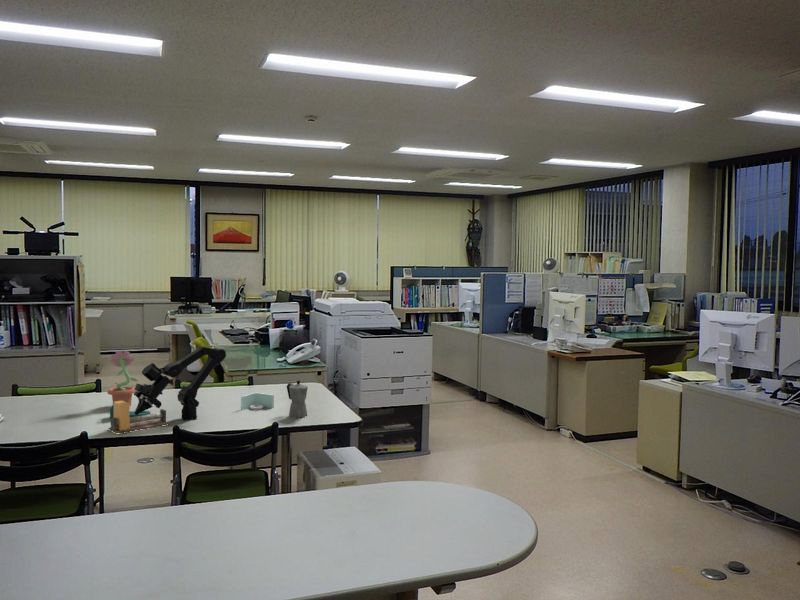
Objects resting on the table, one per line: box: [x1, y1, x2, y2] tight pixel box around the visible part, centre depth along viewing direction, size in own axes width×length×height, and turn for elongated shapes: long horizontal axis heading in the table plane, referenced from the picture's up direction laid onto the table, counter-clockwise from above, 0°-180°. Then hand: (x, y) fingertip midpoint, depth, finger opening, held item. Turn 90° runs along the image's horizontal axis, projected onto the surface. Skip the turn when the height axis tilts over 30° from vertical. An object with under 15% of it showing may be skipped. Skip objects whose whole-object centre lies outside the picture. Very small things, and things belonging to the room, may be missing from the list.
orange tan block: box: [112, 401, 130, 431], centre depth 286 cm, size 4×8×12 cm, turn 45°
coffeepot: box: [286, 380, 308, 419], centre depth 319 cm, size 15×9×18 cm, turn 49°
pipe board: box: [107, 408, 170, 434], centre depth 292 cm, size 24×10×6 cm, turn 135°
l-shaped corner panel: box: [240, 391, 275, 411], centre depth 331 cm, size 12×12×8 cm
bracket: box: [109, 404, 151, 420], centre depth 309 cm, size 18×7×8 cm, turn 108°
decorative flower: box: [107, 350, 139, 407], centre depth 328 cm, size 15×14×30 cm
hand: (135, 414), depth 290 cm, fingers closed
